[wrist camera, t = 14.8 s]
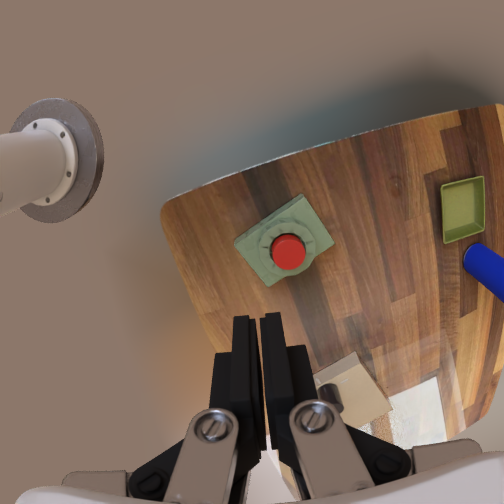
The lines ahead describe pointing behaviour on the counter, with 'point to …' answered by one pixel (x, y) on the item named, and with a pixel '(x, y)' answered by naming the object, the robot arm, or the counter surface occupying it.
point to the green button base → (275, 225)
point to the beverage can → (486, 268)
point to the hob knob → (331, 395)
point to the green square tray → (462, 208)
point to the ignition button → (288, 252)
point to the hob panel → (355, 390)
